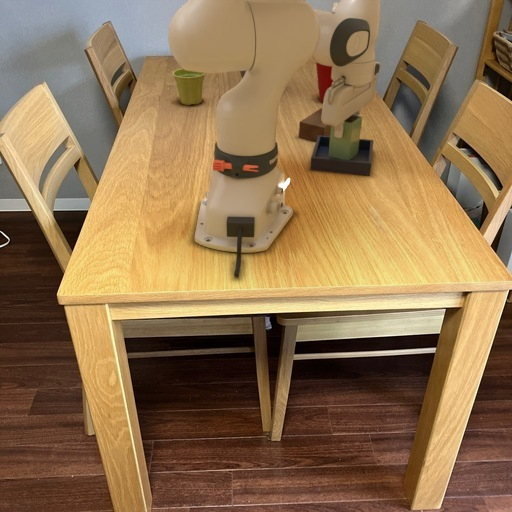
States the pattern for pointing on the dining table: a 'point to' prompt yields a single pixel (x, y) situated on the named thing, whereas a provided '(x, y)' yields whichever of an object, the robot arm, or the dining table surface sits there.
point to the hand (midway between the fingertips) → (345, 132)
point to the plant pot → (189, 86)
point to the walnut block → (313, 127)
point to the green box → (346, 139)
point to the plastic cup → (323, 79)
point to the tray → (330, 164)
